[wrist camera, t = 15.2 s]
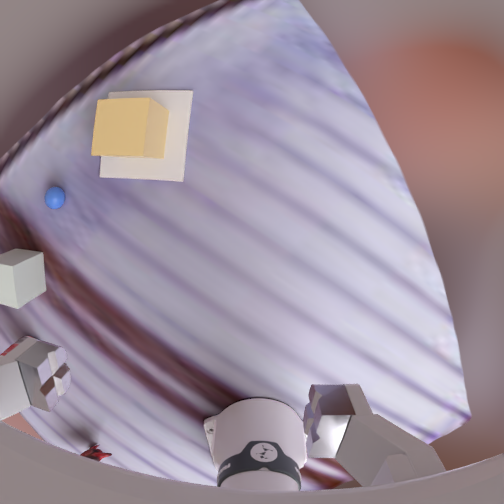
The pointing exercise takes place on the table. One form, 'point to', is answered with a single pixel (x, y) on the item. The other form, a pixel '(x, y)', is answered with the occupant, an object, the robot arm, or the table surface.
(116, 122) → the tan cube
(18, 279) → the matte white cube
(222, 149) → the table surface
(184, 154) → the grey mat
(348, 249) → the table surface
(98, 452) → the decorative bird figurine
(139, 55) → the table surface
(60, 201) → the marble
